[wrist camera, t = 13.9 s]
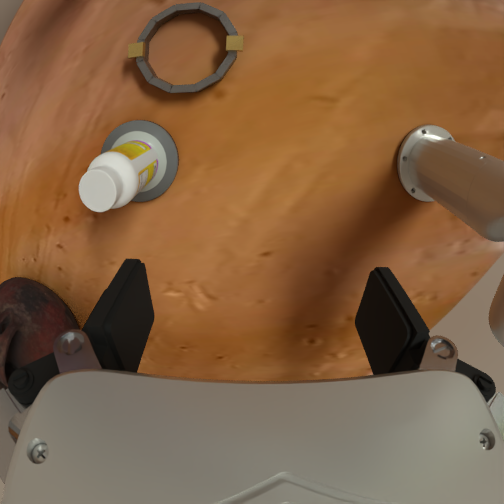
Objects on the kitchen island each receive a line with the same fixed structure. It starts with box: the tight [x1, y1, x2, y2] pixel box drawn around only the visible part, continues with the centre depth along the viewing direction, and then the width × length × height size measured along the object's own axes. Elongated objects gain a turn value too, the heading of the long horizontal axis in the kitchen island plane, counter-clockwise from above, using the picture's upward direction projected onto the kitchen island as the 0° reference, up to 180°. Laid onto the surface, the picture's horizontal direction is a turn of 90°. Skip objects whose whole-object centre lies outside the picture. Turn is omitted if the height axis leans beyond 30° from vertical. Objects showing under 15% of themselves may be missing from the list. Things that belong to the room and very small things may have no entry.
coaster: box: [101, 120, 179, 202], centre depth 37 cm, size 12×12×1 cm
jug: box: [0, 277, 80, 390], centre depth 41 cm, size 25×25×25 cm
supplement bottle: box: [79, 140, 159, 212], centre depth 31 cm, size 7×7×13 cm
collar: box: [128, 2, 244, 93], centre depth 29 cm, size 15×13×3 cm
